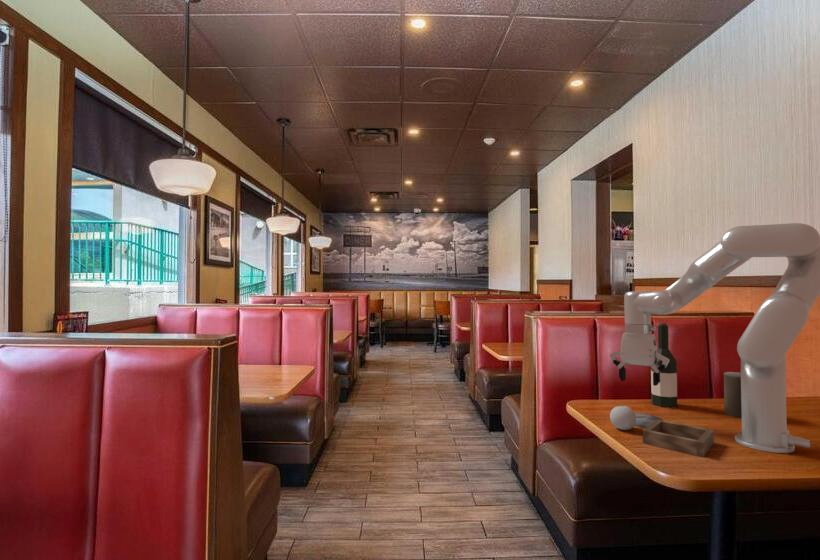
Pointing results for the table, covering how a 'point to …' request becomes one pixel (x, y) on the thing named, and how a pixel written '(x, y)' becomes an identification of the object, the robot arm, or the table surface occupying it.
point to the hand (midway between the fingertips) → (639, 382)
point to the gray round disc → (645, 420)
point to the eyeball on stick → (623, 417)
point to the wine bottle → (665, 373)
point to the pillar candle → (732, 394)
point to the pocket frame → (679, 437)
